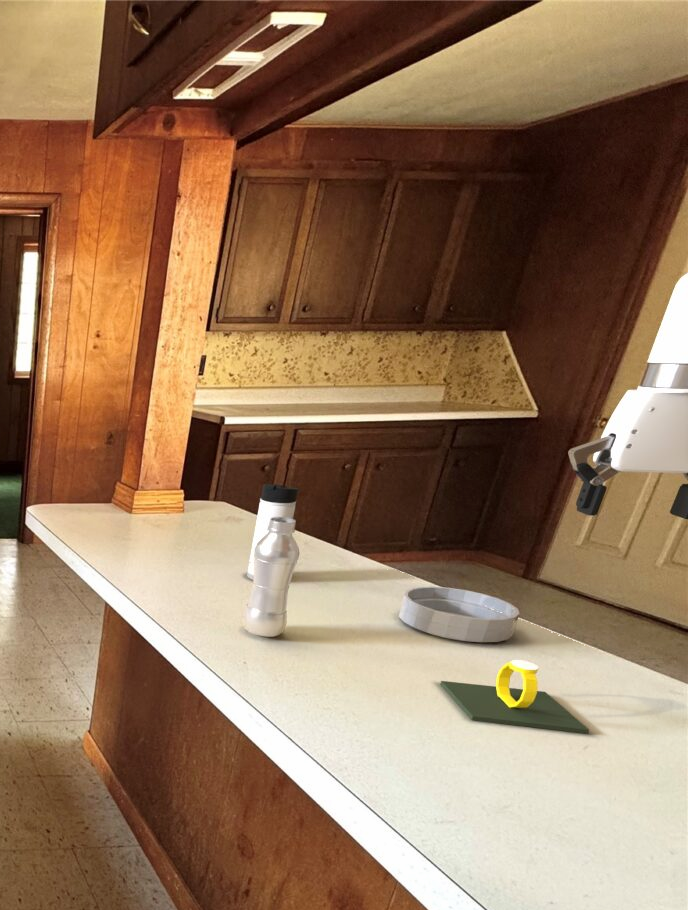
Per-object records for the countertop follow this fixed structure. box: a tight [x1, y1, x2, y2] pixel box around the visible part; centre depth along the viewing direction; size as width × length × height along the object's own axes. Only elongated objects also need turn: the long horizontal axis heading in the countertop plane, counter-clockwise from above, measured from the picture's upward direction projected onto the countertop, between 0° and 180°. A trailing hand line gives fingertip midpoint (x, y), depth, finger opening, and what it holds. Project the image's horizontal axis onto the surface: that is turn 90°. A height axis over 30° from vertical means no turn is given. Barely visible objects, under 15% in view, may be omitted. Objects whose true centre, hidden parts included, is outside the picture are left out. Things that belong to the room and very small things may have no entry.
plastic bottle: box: [242, 517, 300, 638], centre depth 110 cm, size 6×7×20 cm
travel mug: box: [246, 483, 299, 581], centre depth 134 cm, size 6×7×20 cm
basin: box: [398, 586, 520, 643], centre depth 113 cm, size 15×15×4 cm
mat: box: [439, 680, 590, 735], centre depth 89 cm, size 12×10×1 cm
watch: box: [495, 659, 539, 709], centre depth 88 cm, size 6×3×6 cm, turn 164°
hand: (632, 515), depth 87 cm, fingers open, 9 cm apart
